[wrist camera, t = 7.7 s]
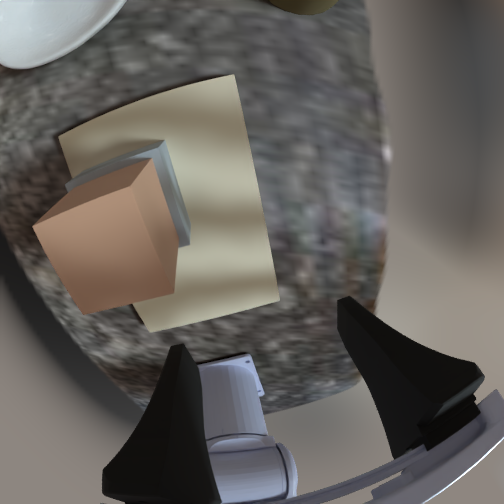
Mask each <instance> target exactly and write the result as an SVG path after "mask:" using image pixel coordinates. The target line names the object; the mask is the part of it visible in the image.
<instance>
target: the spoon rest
mask: <svg viewBox="0 0 504 504" xmlns="http://www.w3.org/2000/svg"><path fill="white" fill-rule="evenodd" d="M126 1H127V0H0V64H1V65H3V66H5V67H8V68H12V69H29V68H34V67H38V66H41V65H44V64H46V63H49V62H51V61H54V60H56V59H58V58H60V57H62V56H64V55H66V54H68V53H69V52H71V51H73V50H75V49H76V48H78V47H79V46H81V45H82V44H84V43H85V42H86V41H87V40H89V39H90V38H91V37H92V36H94V35H95V34H96V33H97V32H98V31H100V30H101V29H102V28H103V27H104V26H105V25H106V24H107V23H108V22H109V21H110V20H111V19H112V18H113V17H114V16H115V15H116V14H117V13H118V12H119V10H120V9H121V8H122V6H123V5H124V4H125V2H126Z"/></svg>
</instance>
